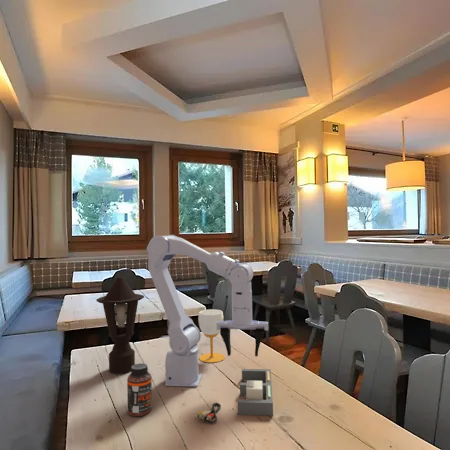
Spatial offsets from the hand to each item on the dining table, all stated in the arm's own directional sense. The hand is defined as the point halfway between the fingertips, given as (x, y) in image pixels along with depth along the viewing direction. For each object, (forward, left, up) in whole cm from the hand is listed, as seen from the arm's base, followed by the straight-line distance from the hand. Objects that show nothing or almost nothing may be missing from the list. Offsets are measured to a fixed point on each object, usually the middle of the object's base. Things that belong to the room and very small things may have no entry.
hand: (242, 354), depth 101 cm
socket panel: (+4, -4, -9) cm, 11 cm away
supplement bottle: (-25, -14, -10) cm, 30 cm away
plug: (+3, -9, -9) cm, 14 cm away
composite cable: (-7, -15, -10) cm, 19 cm away
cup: (-12, +23, -10) cm, 27 cm away
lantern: (-40, +12, -10) cm, 43 cm away
